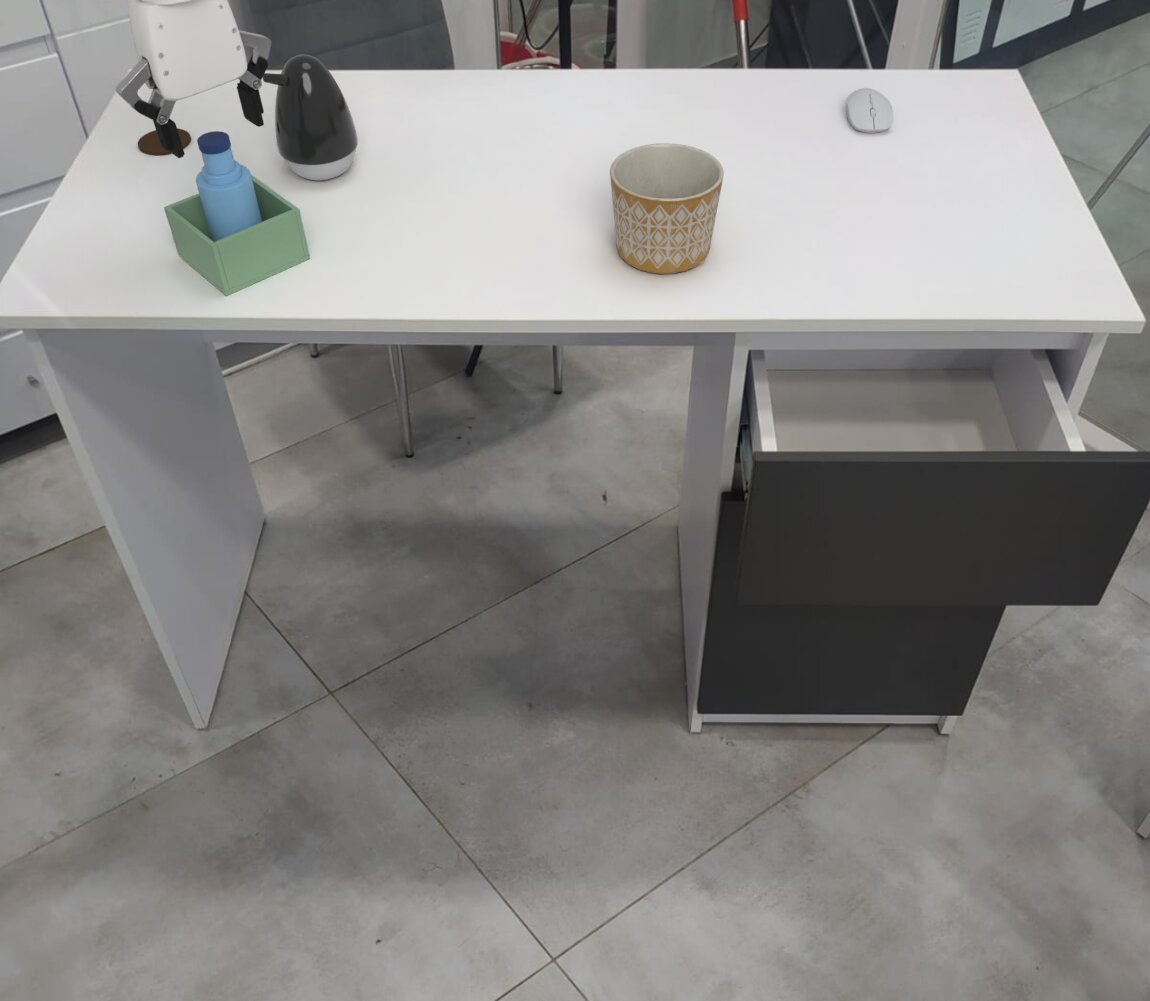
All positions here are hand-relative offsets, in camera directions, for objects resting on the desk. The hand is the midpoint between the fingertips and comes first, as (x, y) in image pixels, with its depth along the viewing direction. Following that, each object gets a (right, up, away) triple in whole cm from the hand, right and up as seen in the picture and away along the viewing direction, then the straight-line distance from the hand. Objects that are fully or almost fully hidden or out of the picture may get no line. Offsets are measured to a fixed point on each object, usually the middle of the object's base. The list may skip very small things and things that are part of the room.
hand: (215, 137), depth 121 cm
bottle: (0, -10, +10) cm, 15 cm away
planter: (+50, -10, +10) cm, 52 cm away
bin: (0, -11, +11) cm, 15 cm away
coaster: (-17, +9, +31) cm, 36 cm away
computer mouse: (+80, +13, +33) cm, 87 cm away
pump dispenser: (+6, +4, +25) cm, 26 cm away
